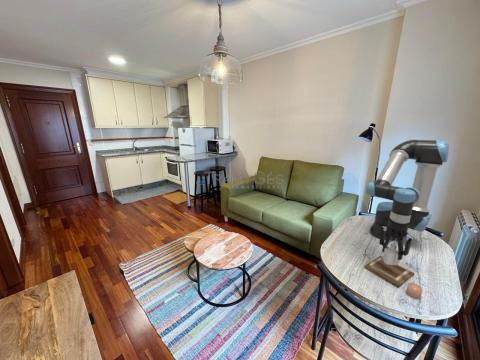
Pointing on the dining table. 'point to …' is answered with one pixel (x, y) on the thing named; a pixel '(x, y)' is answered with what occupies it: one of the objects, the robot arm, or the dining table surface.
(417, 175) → the robot arm
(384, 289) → the dining table surface
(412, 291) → the egg
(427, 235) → the dining table surface
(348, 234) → the dining table surface
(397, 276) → the board
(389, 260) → the eye dropper bottle
